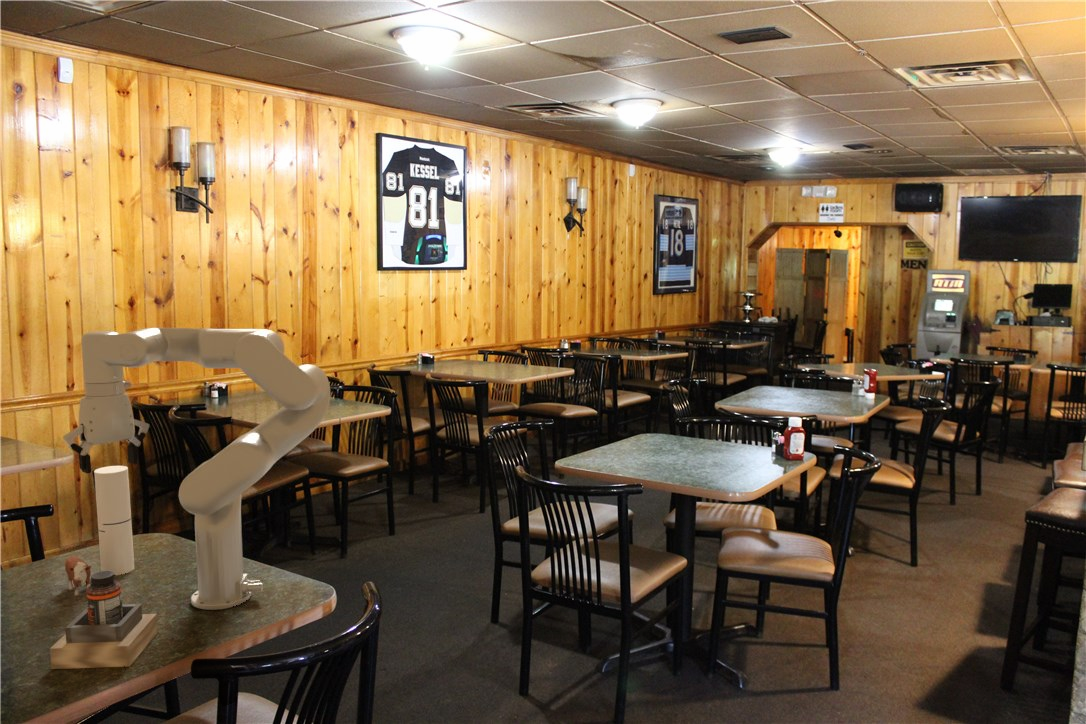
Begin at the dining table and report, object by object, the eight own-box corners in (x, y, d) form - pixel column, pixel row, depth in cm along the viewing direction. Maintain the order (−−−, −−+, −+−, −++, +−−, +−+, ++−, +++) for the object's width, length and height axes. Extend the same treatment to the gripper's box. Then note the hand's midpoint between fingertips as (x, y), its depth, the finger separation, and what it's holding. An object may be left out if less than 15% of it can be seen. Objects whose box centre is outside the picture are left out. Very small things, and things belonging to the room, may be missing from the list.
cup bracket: (157, 632, 171) (155, 599, 170) (129, 666, 157) (127, 630, 156) (86, 634, 170) (83, 601, 169) (51, 669, 156) (48, 633, 155)
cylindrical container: (125, 575, 200) (118, 473, 197) (95, 575, 200) (88, 473, 197) (139, 564, 207) (133, 465, 204) (111, 564, 207) (104, 465, 204)
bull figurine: (73, 604, 184) (70, 569, 183) (65, 585, 195) (62, 551, 194) (95, 600, 187) (93, 564, 186) (86, 580, 197) (83, 547, 196)
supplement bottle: (84, 629, 163) (80, 573, 162) (117, 620, 167) (113, 565, 166) (95, 639, 159) (90, 582, 157) (128, 629, 163) (124, 573, 162)
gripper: (138, 382, 188) (142, 457, 191) (53, 392, 175) (60, 472, 177) (153, 386, 183) (158, 463, 186) (68, 396, 170) (74, 479, 173)
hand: (110, 467), depth 182 cm, fingers open, 9 cm apart
